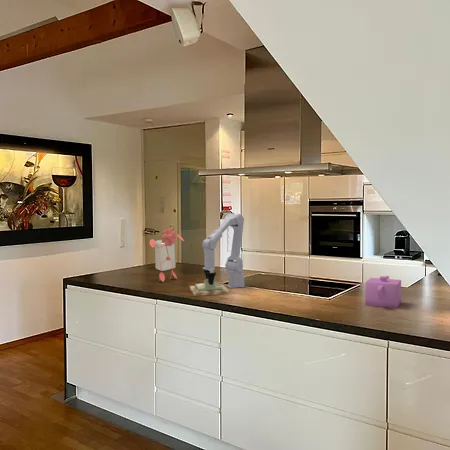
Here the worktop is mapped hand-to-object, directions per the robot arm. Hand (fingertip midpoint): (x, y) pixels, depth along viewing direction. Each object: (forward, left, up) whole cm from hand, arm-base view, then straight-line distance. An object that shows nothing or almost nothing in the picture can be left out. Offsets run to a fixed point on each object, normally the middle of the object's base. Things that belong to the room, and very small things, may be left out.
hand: (209, 283), depth 269 cm
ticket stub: (0, -1, -4) cm, 4 cm away
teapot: (-81, +49, -6) cm, 95 cm away
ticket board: (0, -4, -5) cm, 7 cm away
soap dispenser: (+21, -89, -6) cm, 92 cm away
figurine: (+19, -39, -6) cm, 44 cm away
